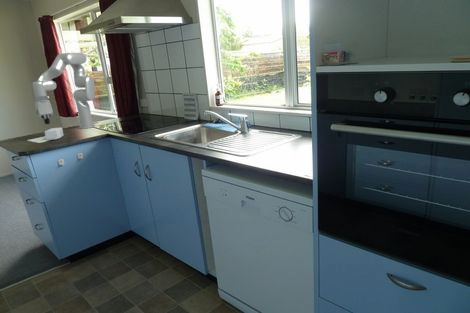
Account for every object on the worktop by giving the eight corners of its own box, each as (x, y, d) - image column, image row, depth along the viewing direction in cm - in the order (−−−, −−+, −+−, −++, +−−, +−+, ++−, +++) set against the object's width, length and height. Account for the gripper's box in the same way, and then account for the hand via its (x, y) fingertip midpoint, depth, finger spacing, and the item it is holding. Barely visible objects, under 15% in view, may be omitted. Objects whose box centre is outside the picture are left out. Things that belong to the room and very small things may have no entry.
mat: (49, 136, 258) (49, 135, 258) (60, 137, 247) (60, 137, 247) (27, 141, 246) (26, 140, 246) (38, 143, 235) (37, 142, 235)
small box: (52, 136, 252) (46, 140, 240) (50, 128, 250) (44, 131, 238) (63, 135, 253) (58, 139, 241) (62, 127, 251) (56, 130, 239)
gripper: (49, 97, 250) (55, 121, 255) (28, 100, 239) (34, 125, 244) (54, 97, 246) (60, 122, 251) (33, 100, 235) (39, 126, 240)
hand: (47, 123), depth 248 cm, fingers closed
